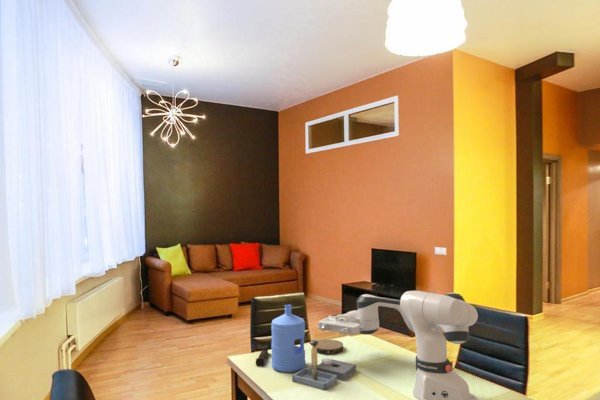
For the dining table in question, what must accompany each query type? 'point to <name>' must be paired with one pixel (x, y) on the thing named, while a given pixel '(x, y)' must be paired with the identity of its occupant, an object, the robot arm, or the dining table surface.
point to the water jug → (288, 342)
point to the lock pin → (314, 359)
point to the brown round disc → (329, 347)
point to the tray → (306, 378)
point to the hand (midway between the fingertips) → (331, 330)
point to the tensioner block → (337, 368)
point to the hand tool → (262, 356)
